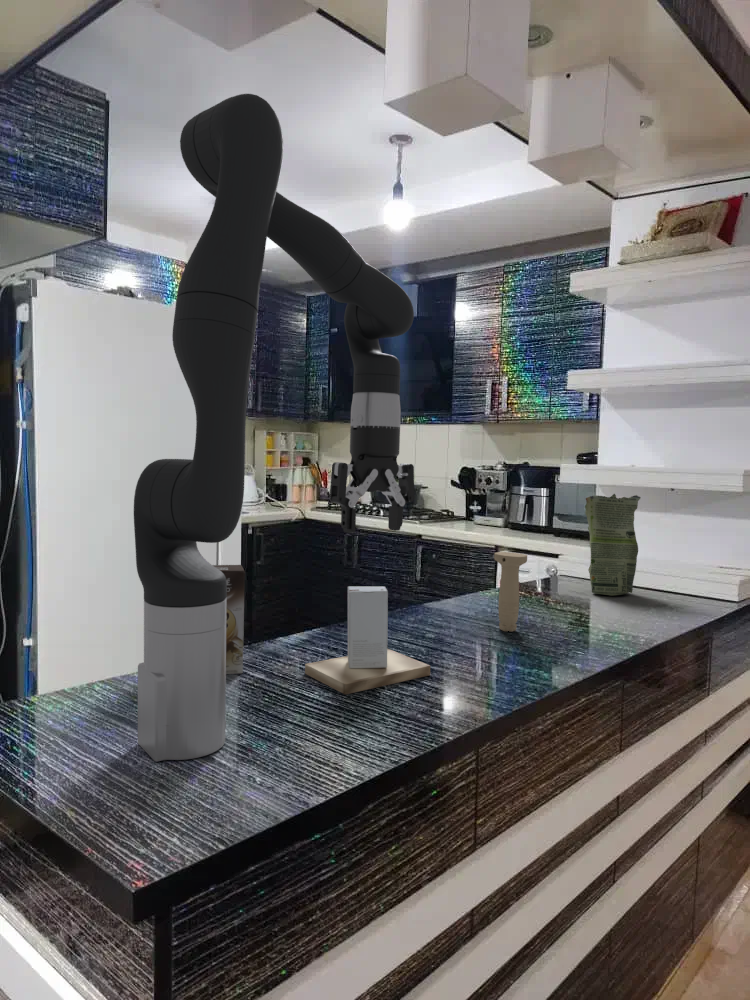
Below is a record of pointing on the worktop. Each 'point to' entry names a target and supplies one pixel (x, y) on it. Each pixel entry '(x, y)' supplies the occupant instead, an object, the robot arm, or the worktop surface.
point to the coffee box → (234, 617)
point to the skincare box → (367, 626)
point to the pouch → (612, 543)
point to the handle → (509, 588)
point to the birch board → (366, 673)
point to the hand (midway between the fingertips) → (372, 531)
